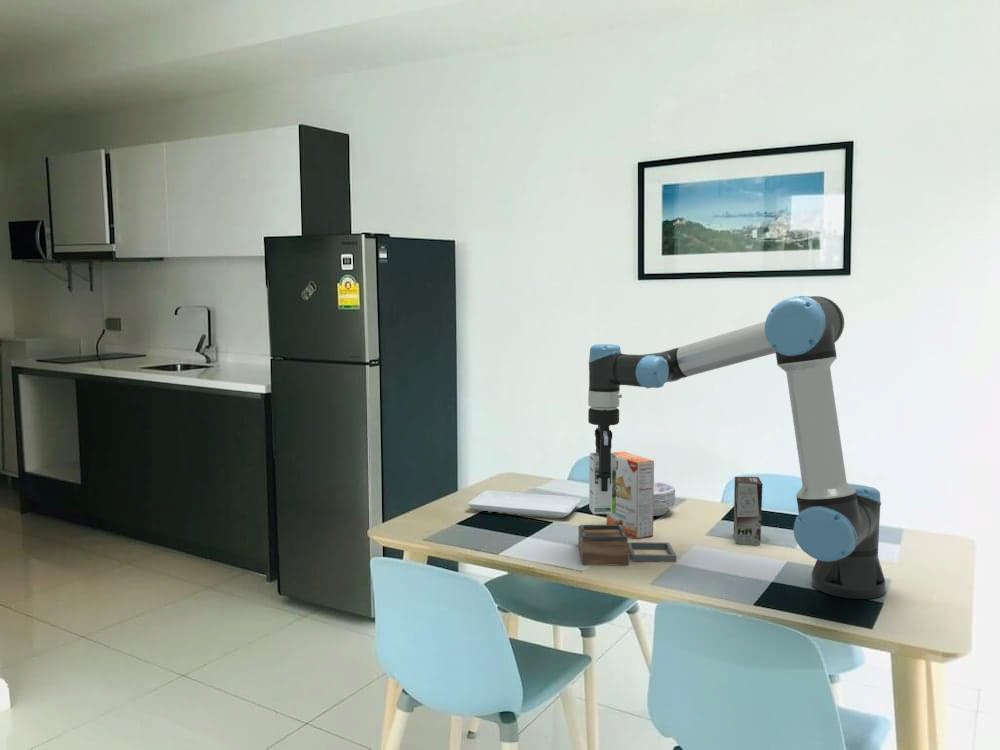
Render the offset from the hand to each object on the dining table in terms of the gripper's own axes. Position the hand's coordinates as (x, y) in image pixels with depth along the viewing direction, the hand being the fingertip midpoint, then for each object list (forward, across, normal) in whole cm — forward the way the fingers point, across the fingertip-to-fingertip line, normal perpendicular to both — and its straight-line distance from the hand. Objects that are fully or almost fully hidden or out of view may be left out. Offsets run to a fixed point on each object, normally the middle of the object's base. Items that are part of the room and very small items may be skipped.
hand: (602, 499), depth 207 cm
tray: (+15, +41, +19) cm, 48 cm away
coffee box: (+14, +13, -39) cm, 44 cm away
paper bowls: (+14, +39, -17) cm, 45 cm away
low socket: (+14, 0, -12) cm, 18 cm away
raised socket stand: (+14, 0, 0) cm, 14 cm away
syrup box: (+3, 0, 0) cm, 3 cm away
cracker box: (+14, +20, -9) cm, 26 cm away
